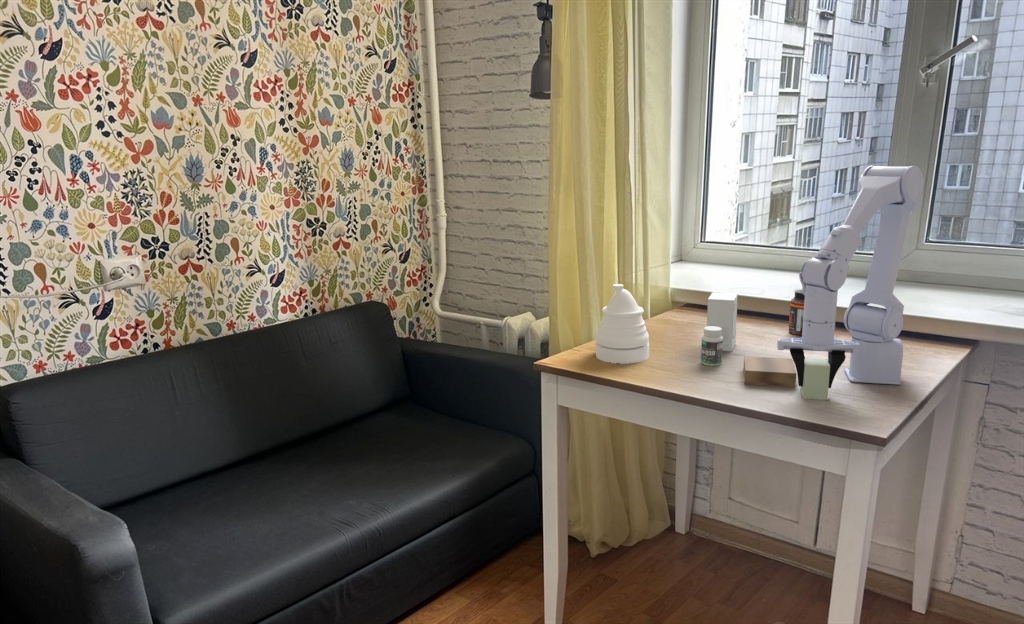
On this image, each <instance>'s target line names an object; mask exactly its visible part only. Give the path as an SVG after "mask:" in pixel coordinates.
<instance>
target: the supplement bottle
mask: <svg viewBox="0 0 1024 624" xmlns="http://www.w3.org/2000/svg"><path fill="white" fill-rule="evenodd" d="M804 302H805V295H803V292H802V289H797V290H795V291H794V297H793V298H791V300H790V304H789V316H788V317H789V318H788V332H789V333H790V334H792V335H795V334H796V336H802V331H803V316H804Z"/></svg>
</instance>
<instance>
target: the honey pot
mask: <svg viewBox="0 0 1024 624" xmlns="http://www.w3.org/2000/svg"><path fill="white" fill-rule="evenodd" d="M624 286H625V285H624V284H622V283H614V284H612V290H613V291H614V293H613V294H612V296H611V297H610V299H609V301H608V302H607V305H605V306H603V308H601V313H602V318H601V320H600V321H599V326H598V330H597V332H596V333H595V356H596V358H597V359H598V360H600V361H601V362H606V363H609V362H611V364H616V363H620V365H622V364H623V365H625V364H627V365H628V364H630V363H631V364H637V363H642V362H645V361H646V360H648V359H649V357H650V343H649V342H650V340H649V339H650V335H649V332H648V331H647V326H646V325H645V324H646V322H645V320H644V318H643V316H642V315H643V313H644V312H645V309H644V308H643V307H642V306H639V305H638V303H637V301H636V299H635V298H634V296H633V295H632V293H631V292H630V291H629V290H628V289H625V288H624Z"/></svg>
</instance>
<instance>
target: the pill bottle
mask: <svg viewBox="0 0 1024 624" xmlns="http://www.w3.org/2000/svg"><path fill="white" fill-rule="evenodd" d="M721 335H722V328H720V327H716V326H707V325H706V326H705V327H703V335H702V336H701V346H700V347H701V348H700V350H701V351H700V355H701V356H700V362H701V364H702V365H706V366H709V367H713V366H720V365H722V363H723V352H724V351H723V337H722V336H721Z"/></svg>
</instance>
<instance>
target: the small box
mask: <svg viewBox="0 0 1024 624" xmlns="http://www.w3.org/2000/svg"><path fill="white" fill-rule="evenodd" d="M738 295H739V294H738V293H736V292H735V293H734V292H720V291H719V292H715V291H714V292H713V291H712V292H711V293H710V295H709V296H708V298H707V309H706V311H707V313H706V327H707V326H716V327H720V328H722V335H721V336H722V337H723V351H722V352H733V351H734V348H735V345H736V343H737V341H736V340H737V339H736V338H737V318H738V317H737V316H738Z"/></svg>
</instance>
